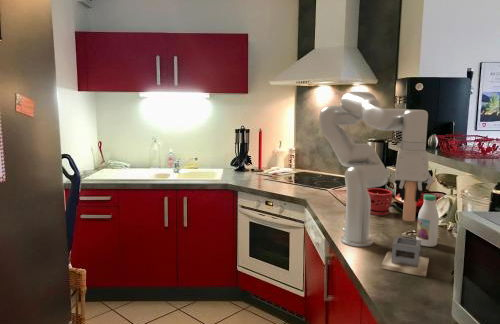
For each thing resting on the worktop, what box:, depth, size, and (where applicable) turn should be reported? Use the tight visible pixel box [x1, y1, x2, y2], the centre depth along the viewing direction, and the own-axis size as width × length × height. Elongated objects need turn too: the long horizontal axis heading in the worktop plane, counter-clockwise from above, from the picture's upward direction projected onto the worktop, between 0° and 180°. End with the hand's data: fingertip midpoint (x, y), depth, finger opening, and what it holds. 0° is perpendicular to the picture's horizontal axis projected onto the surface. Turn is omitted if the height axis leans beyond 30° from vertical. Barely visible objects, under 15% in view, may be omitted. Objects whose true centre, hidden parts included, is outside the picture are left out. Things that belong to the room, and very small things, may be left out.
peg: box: [402, 181, 418, 222], centre depth 137 cm, size 4×4×16 cm
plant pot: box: [367, 187, 393, 216], centre depth 206 cm, size 13×13×12 cm
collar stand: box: [380, 236, 430, 277], centre depth 139 cm, size 14×14×8 cm
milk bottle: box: [415, 193, 440, 247], centre depth 161 cm, size 8×8×20 cm
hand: (410, 199), depth 137 cm, fingers closed on peg, 4 cm apart
